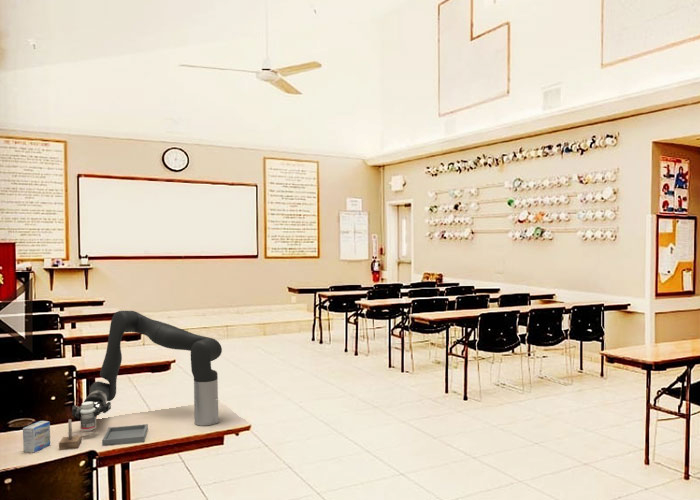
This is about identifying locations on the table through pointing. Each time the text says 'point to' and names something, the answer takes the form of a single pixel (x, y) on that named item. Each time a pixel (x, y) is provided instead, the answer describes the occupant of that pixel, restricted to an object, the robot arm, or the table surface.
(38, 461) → the table surface
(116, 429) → the tray
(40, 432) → the medicine box
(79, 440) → the stand
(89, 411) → the pill bottle
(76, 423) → the table surface
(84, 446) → the table surface
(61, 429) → the table surface
